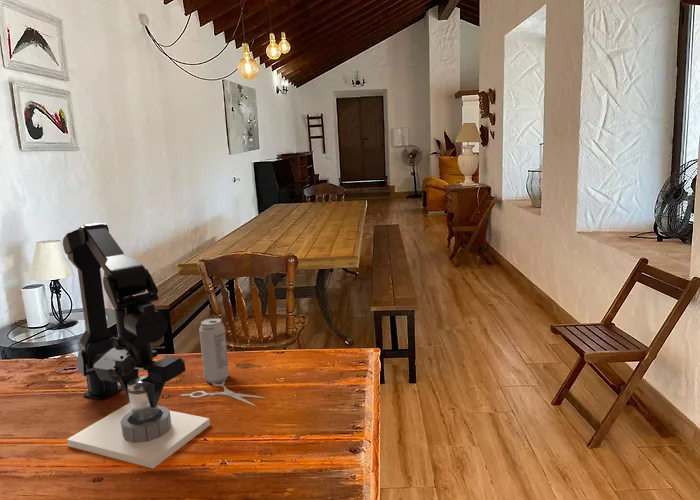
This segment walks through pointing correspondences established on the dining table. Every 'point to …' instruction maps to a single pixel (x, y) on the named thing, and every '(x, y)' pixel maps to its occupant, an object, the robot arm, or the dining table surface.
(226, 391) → the scissors
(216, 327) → the energy drink can
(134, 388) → the piston
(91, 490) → the dining table surface
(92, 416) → the dining table surface
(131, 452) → the plate
